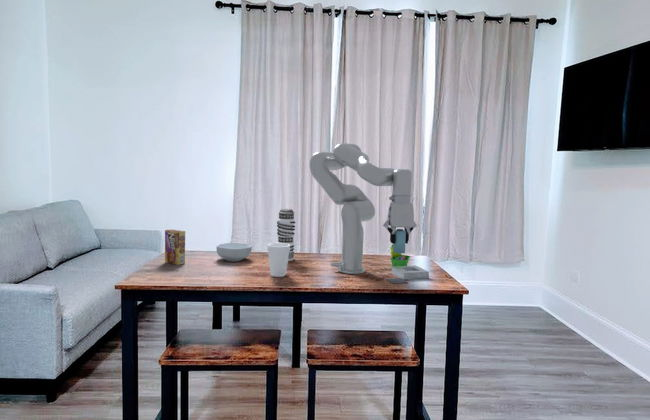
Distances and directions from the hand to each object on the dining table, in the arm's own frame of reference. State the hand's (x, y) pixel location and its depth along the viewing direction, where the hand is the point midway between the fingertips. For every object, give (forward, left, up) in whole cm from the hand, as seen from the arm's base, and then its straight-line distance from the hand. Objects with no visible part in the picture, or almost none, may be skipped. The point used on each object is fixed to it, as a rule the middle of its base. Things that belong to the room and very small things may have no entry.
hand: (399, 242), depth 181 cm
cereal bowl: (-63, +50, -17) cm, 82 cm away
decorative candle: (-38, +48, -17) cm, 64 cm away
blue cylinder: (0, 0, -4) cm, 4 cm away
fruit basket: (+12, +23, -17) cm, 31 cm away
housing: (+10, +8, -17) cm, 21 cm away
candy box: (-90, +46, -17) cm, 103 cm away
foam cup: (-47, +18, -17) cm, 53 cm away
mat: (0, 0, -17) cm, 17 cm away
